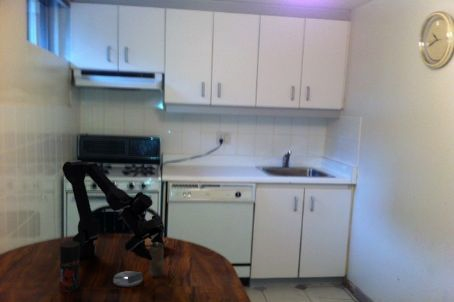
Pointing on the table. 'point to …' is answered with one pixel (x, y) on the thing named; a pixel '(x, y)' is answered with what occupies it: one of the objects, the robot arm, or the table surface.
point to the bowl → (128, 278)
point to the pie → (148, 243)
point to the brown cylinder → (156, 259)
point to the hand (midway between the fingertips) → (158, 255)
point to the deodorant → (69, 266)
